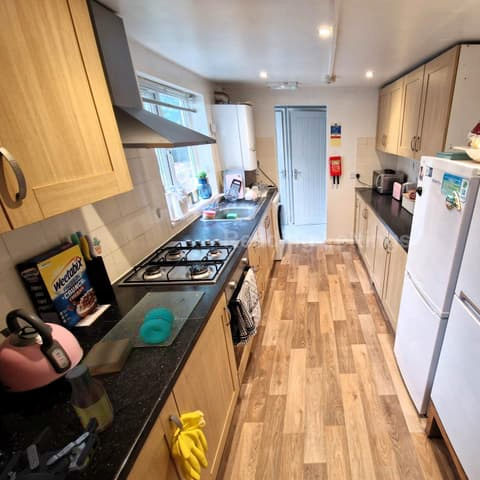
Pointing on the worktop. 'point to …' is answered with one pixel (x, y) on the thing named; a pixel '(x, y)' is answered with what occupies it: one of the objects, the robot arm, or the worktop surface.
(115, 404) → the worktop surface
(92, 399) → the sauce bottle
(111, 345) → the oak block
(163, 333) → the donuts
